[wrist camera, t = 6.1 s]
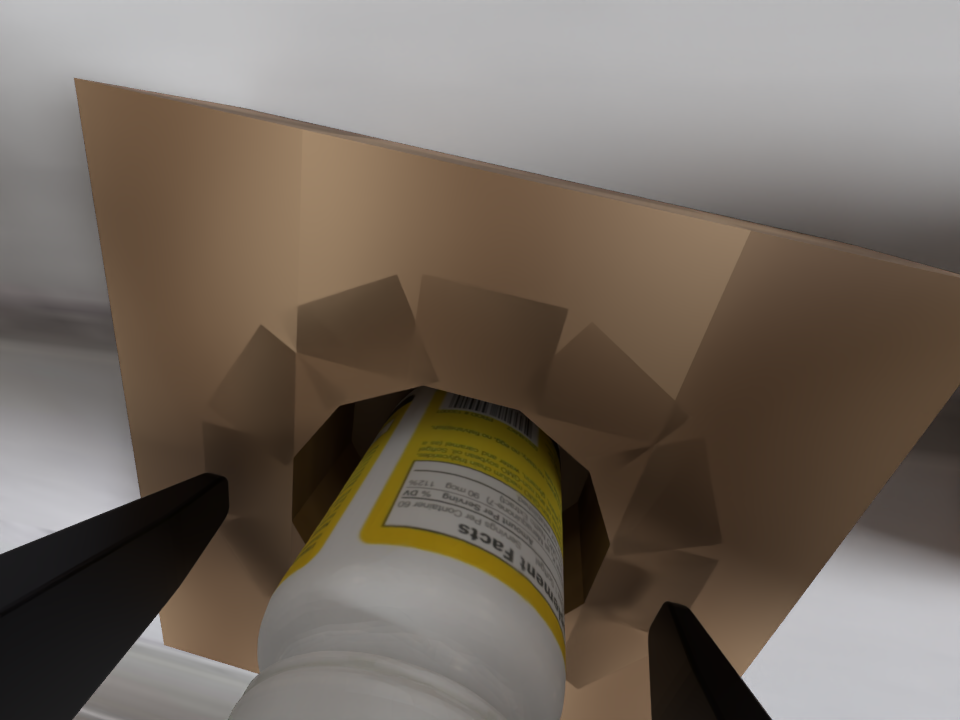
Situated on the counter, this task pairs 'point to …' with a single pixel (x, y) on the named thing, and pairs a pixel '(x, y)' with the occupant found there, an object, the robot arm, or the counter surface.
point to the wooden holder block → (501, 365)
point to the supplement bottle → (426, 579)
